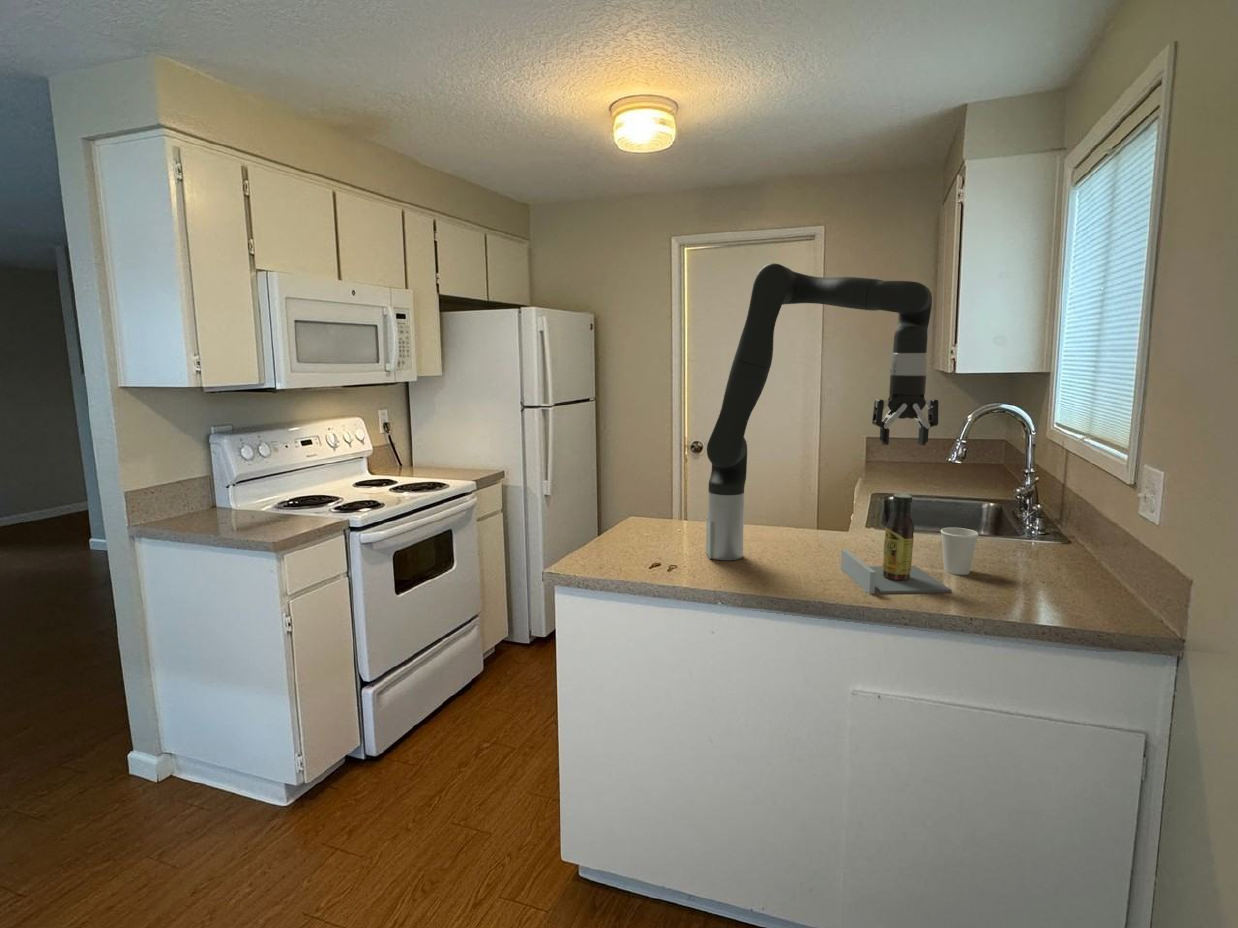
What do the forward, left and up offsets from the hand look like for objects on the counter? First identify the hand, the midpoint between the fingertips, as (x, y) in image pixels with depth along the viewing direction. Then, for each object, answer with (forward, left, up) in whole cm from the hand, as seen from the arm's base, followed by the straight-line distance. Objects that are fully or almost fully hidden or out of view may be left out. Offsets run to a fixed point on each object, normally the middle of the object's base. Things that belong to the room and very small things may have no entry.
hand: (903, 444), depth 162 cm
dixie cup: (+17, +5, -32) cm, 37 cm away
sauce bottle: (0, -1, -32) cm, 32 cm away
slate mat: (0, -1, -32) cm, 32 cm away
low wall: (-10, -1, -32) cm, 33 cm away
